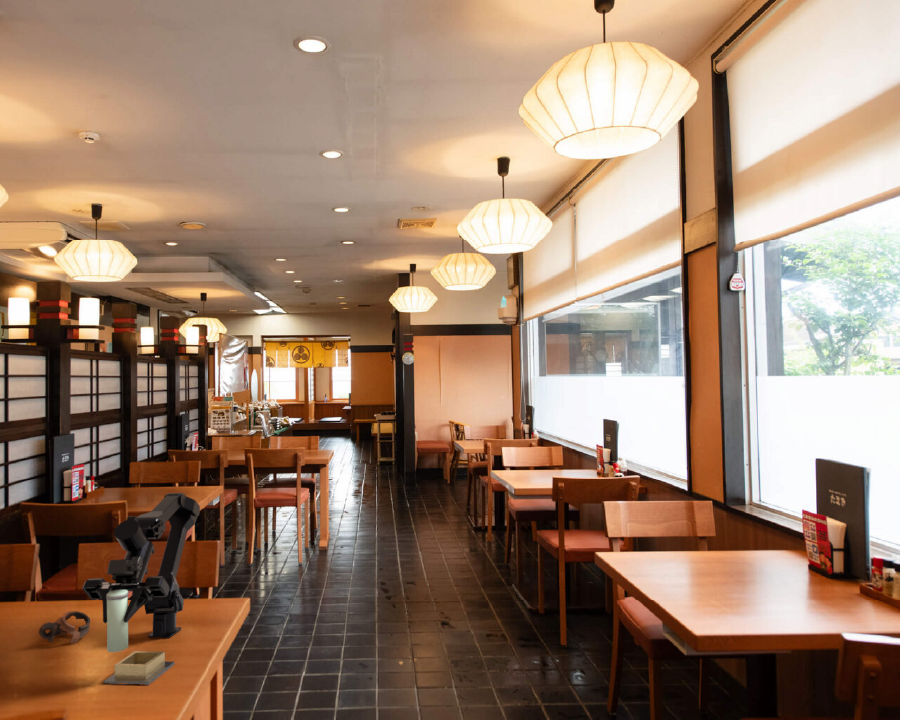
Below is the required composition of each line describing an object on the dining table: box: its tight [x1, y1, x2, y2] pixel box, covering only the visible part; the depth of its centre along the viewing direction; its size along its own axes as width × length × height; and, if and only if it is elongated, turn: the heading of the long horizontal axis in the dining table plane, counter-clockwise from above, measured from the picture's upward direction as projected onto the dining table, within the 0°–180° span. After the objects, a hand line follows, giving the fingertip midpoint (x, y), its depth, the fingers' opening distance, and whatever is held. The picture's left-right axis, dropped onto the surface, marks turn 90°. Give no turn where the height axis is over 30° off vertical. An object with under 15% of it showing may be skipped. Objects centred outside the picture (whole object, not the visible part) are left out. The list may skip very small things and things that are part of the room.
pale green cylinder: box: [106, 590, 129, 653], centre depth 150 cm, size 5×5×13 cm
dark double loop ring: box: [38, 610, 91, 644], centre depth 172 cm, size 12×10×8 cm
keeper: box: [103, 650, 176, 686], centre depth 151 cm, size 11×11×4 cm
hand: (114, 622), depth 148 cm, fingers closed on pale green cylinder, 4 cm apart
